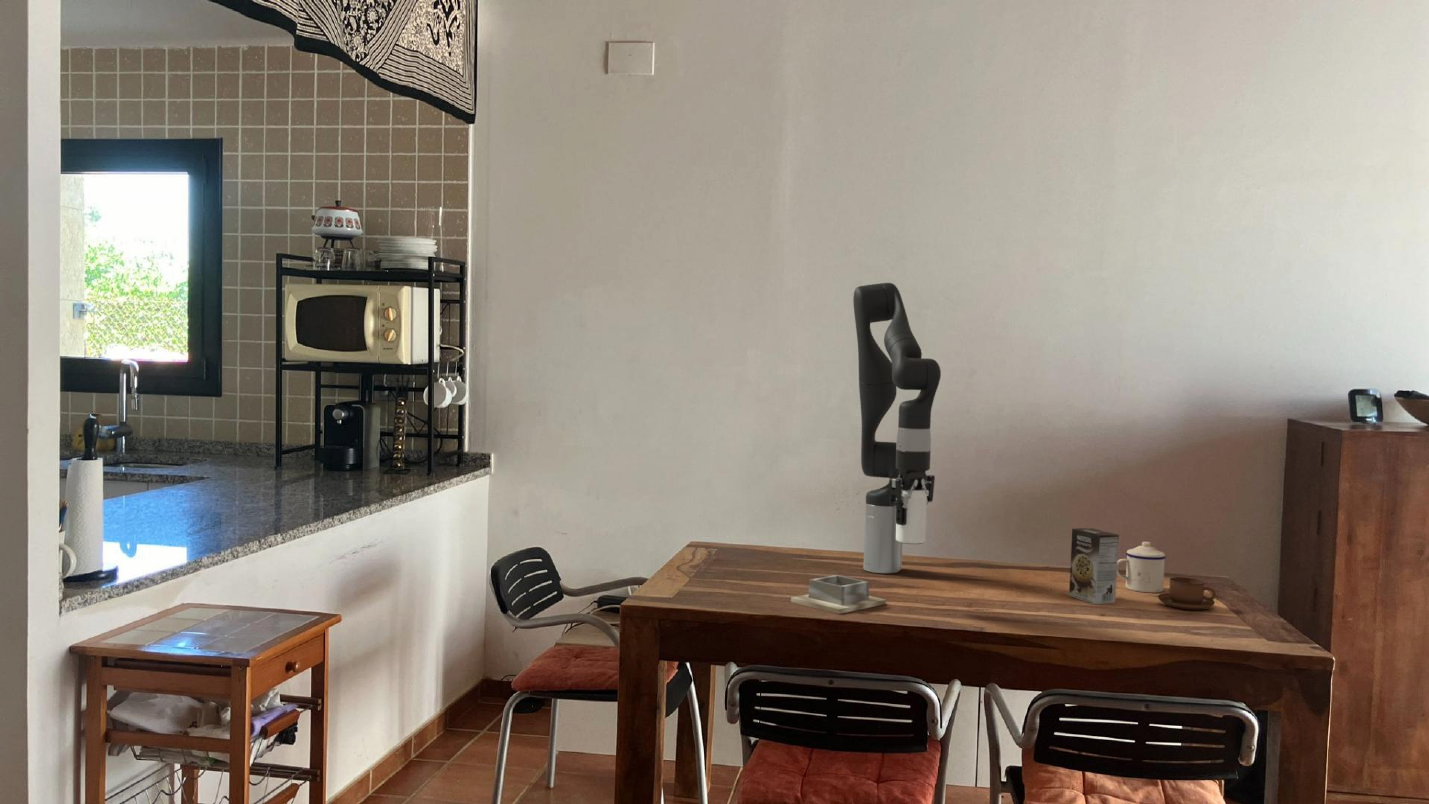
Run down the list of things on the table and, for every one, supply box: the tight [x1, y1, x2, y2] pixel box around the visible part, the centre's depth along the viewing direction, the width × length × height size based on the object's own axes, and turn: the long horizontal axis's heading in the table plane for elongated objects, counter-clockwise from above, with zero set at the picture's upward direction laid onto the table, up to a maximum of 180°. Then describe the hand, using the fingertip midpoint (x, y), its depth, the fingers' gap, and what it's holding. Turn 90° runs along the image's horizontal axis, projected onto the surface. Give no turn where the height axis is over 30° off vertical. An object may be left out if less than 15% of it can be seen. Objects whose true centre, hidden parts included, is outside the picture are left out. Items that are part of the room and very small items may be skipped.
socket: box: [790, 574, 887, 615], centre depth 249 cm, size 16×14×5 cm
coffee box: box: [1068, 527, 1120, 605], centre depth 260 cm, size 9×6×16 cm
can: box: [896, 489, 928, 545], centre depth 248 cm, size 6×6×12 cm
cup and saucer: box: [1157, 576, 1217, 611], centre depth 256 cm, size 12×12×6 cm
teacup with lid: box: [1117, 541, 1167, 594], centre depth 274 cm, size 12×9×12 cm
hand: (910, 522), depth 248 cm, fingers closed on can, 6 cm apart
